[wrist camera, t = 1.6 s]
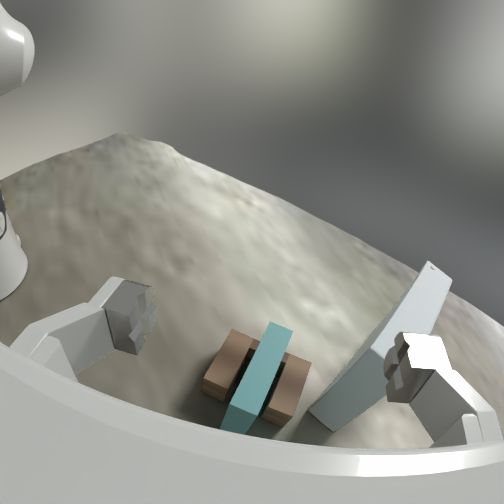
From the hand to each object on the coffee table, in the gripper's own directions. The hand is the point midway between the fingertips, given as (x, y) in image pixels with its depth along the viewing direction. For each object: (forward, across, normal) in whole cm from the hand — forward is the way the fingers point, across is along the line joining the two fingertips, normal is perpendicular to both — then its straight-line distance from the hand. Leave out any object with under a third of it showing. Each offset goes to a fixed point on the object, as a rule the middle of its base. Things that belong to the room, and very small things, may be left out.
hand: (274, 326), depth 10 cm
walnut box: (+17, +1, +27) cm, 32 cm away
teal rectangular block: (+13, +1, +27) cm, 30 cm away
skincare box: (+22, -15, +28) cm, 39 cm away
